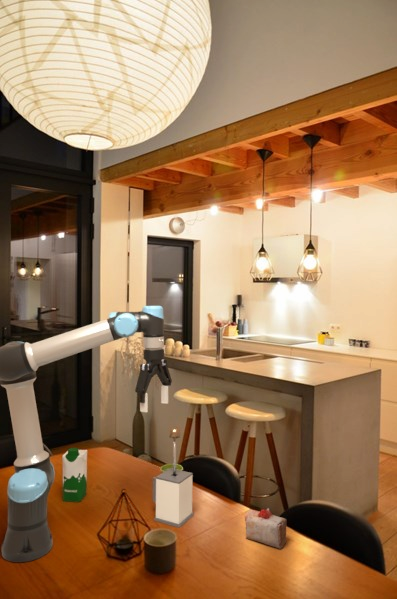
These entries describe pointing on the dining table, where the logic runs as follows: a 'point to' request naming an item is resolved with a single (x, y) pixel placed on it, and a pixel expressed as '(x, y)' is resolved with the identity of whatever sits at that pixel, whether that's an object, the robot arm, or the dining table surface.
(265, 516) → the food item
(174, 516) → the tall white box
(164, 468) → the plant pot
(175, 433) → the plunger
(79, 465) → the milk carton
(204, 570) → the dining table surface
